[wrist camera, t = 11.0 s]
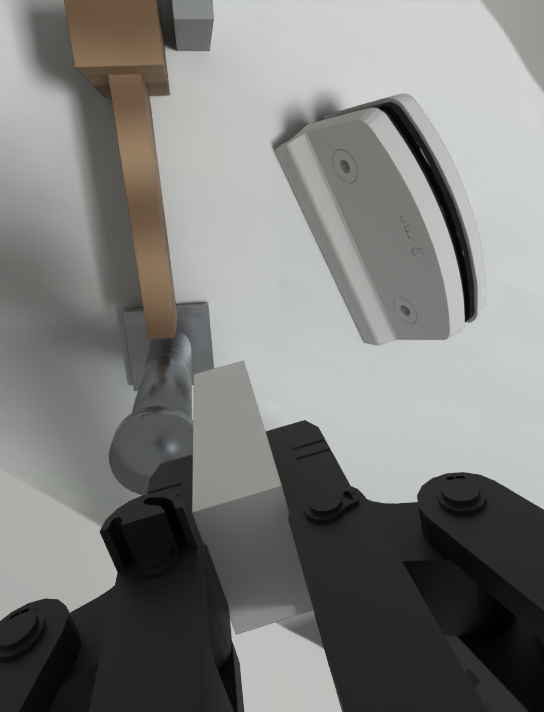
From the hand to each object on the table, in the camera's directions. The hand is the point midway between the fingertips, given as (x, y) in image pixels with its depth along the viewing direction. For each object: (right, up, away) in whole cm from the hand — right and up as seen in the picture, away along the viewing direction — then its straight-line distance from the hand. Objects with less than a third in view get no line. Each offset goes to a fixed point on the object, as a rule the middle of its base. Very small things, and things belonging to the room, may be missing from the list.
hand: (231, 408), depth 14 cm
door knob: (-6, +2, +22) cm, 23 cm away
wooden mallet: (-7, +13, +17) cm, 23 cm away
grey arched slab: (+8, +11, +21) cm, 25 cm away
